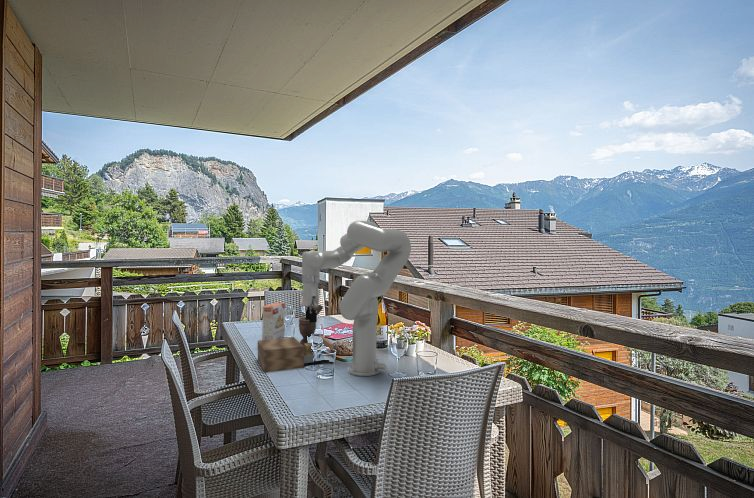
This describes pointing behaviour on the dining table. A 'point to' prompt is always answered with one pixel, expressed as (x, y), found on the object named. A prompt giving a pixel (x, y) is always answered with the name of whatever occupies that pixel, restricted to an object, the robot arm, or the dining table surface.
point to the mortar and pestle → (307, 326)
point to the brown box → (280, 354)
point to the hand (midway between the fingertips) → (311, 320)
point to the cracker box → (273, 321)
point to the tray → (326, 343)
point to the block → (307, 349)
